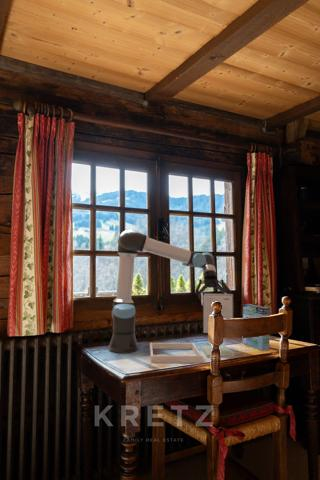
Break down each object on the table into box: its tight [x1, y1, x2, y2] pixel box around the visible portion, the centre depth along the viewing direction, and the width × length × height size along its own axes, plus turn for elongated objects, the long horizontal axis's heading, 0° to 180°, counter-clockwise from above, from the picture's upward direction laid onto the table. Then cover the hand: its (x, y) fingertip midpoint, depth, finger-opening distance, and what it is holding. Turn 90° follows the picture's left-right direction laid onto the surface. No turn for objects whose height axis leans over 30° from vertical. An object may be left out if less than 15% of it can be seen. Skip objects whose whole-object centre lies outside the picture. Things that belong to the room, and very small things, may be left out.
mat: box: [200, 345, 236, 358], centre depth 190 cm, size 14×20×1 cm
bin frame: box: [149, 342, 203, 364], centre depth 183 cm, size 24×28×3 cm
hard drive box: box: [202, 293, 234, 334], centre depth 190 cm, size 16×8×20 cm, turn 75°
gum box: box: [242, 303, 271, 351], centre depth 205 cm, size 20×5×23 cm, turn 20°
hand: (214, 303), depth 194 cm, fingers closed on hard drive box, 12 cm apart
